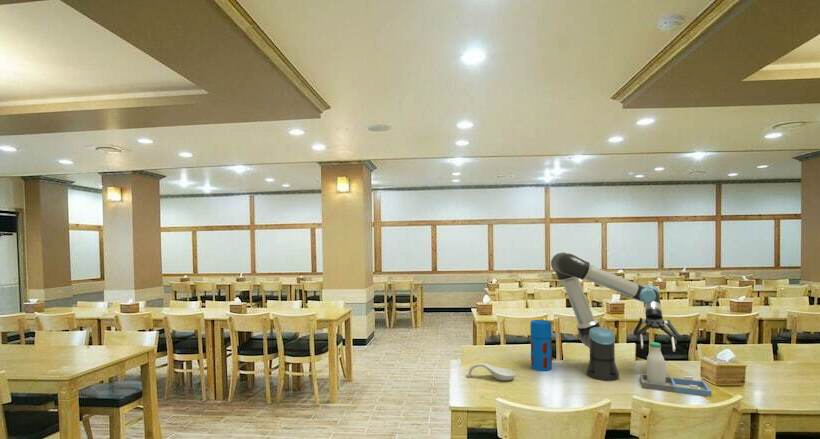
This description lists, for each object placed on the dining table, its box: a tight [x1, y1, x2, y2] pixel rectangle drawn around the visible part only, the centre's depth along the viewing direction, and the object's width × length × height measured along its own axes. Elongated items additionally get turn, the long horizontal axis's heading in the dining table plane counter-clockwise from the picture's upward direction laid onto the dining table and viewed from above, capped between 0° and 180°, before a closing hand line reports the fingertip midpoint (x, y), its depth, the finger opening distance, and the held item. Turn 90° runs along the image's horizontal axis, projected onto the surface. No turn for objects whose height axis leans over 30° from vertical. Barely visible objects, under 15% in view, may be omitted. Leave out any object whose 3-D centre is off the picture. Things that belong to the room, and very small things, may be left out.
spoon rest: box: [467, 362, 517, 382], centre depth 212 cm, size 24×12×7 cm, turn 79°
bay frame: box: [639, 373, 712, 397], centre depth 198 cm, size 27×14×4 cm, turn 65°
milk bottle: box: [646, 341, 667, 385], centre depth 201 cm, size 8×8×20 cm
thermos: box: [529, 319, 553, 372], centre depth 227 cm, size 11×11×25 cm
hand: (658, 348), depth 206 cm, fingers open, 13 cm apart
